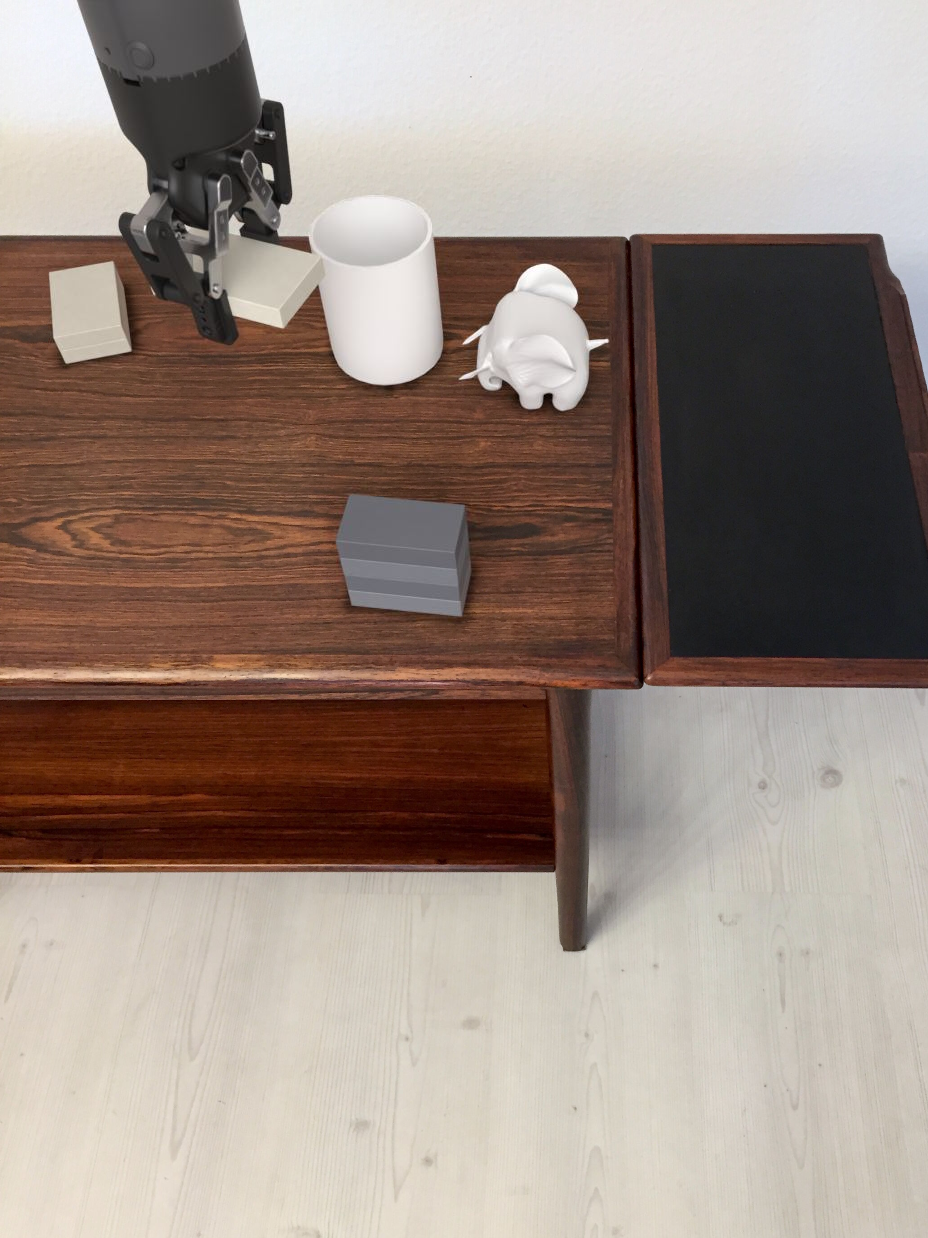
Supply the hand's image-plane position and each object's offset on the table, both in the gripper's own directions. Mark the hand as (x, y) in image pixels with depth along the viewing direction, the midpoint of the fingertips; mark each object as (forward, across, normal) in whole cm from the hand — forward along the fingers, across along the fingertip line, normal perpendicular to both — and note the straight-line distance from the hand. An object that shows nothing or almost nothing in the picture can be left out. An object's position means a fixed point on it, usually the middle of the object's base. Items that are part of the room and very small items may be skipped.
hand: (246, 308), depth 67 cm
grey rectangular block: (+17, +5, +12) cm, 22 cm away
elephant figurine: (+17, -18, +13) cm, 28 cm away
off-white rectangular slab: (-2, 0, 0) cm, 2 cm away
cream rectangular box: (+17, -12, -26) cm, 33 cm away
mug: (+17, -19, -1) cm, 26 cm away
